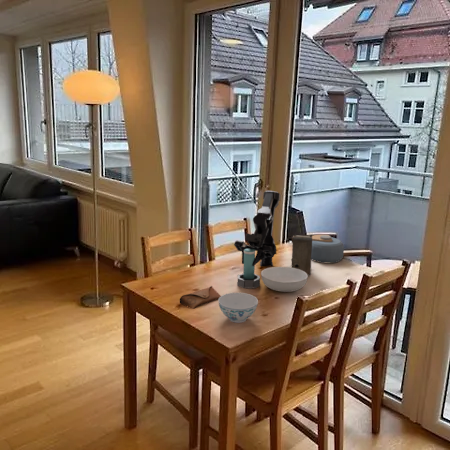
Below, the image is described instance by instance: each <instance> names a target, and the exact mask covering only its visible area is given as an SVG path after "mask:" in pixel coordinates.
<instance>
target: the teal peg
mask: <svg viewBox="0 0 450 450" xmlns="http://www.w3.org/2000/svg"><path fill="white" fill-rule="evenodd" d="M255 257H256V251H255V250H254V249H244V264H243V273H242V274H243V278H245V279H254V274H255V266H253V265H252V264H253V261H254V259H255Z"/></svg>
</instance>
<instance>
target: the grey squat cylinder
mask: <svg viewBox="0 0 450 450" xmlns="http://www.w3.org/2000/svg"><path fill="white" fill-rule="evenodd" d="M311 236H312V252H311V260H312V259H313V260H312V261H314V260H315V261H314V262H317V261H319V262H318V263H324V262H334V263H338V262H340V261H342V259H343V258H344V252H345V251H344V249H345V245H344V242H342V241H341V239H339V238H335V237H332V236H331V235H329V234H315V235H311Z"/></svg>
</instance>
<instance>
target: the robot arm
mask: <svg viewBox="0 0 450 450" xmlns="http://www.w3.org/2000/svg"><path fill="white" fill-rule="evenodd" d="M262 195H263V196H262V201H263V202H262V206H261V208H259V209H258V210H257V212H256V213H255V215H254V217H253V218H252V222H253V226H254V229H255V230H254V233H245V237H244V240H245V241H247V242H246V243H247V244H246V243H245V241H243V240H235V241H234V244H233V246H234V247H235V248H236V250H237V251H238V252H241V264H242V265H244V249H254V250H255V252H256V254H255V259H254V261H253V264H252V265H253V266H255V265H257V264H258V263H259V265H260V267H274V263H273V258H274V256H275V255H277V246H276V243H275V239H274V237H273V230H274V221H275V212H276V208H277V207H278V206H279V203H280V201H281V193H280V192H278V191H274V190H265V191H263V194H262Z"/></svg>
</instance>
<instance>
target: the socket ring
mask: <svg viewBox="0 0 450 450" xmlns="http://www.w3.org/2000/svg"><path fill="white" fill-rule="evenodd" d="M260 276H261V275H259V274H256V273H254V279H245V278H243V273H240V274H238V275H237V283H236V285H237V286H238V287H240V288H241V289H256V288H258V287H260V285H261V284H260V281H261V277H260Z"/></svg>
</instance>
